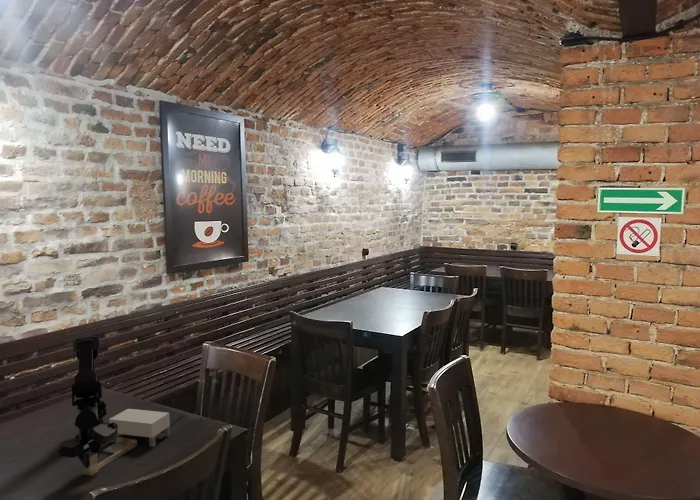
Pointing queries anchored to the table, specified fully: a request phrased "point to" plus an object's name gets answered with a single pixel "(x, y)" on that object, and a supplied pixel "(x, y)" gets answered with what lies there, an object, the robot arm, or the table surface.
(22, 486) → the table surface
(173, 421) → the bracket
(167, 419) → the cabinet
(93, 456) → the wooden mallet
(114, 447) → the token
